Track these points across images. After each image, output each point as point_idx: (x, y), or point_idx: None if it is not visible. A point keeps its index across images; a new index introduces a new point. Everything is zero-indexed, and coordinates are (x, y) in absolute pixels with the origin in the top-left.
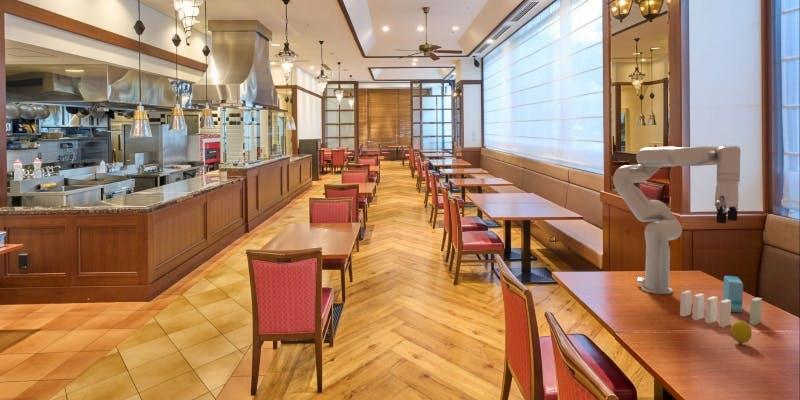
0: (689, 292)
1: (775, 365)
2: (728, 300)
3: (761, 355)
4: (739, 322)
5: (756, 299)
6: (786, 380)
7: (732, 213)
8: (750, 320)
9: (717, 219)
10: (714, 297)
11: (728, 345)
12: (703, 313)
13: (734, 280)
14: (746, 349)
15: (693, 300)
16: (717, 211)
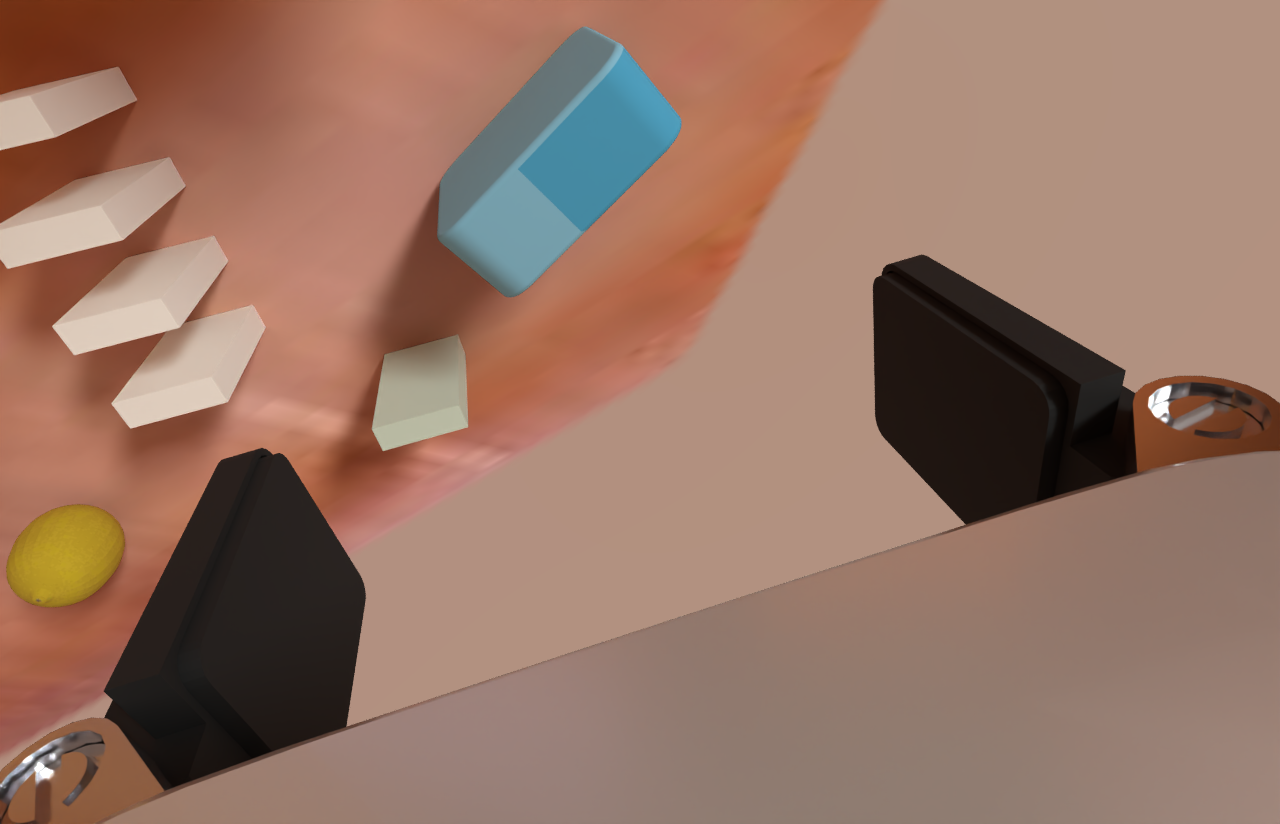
0: (10, 147)
1: (76, 661)
2: (200, 401)
3: (95, 602)
4: (22, 595)
5: (411, 433)
6: (13, 731)
7: (979, 461)
8: (384, 366)
9: (210, 522)
10: (144, 326)
11: (11, 513)
12: (176, 193)
13: (525, 225)
14: None
15: (6, 222)
16: (11, 817)
